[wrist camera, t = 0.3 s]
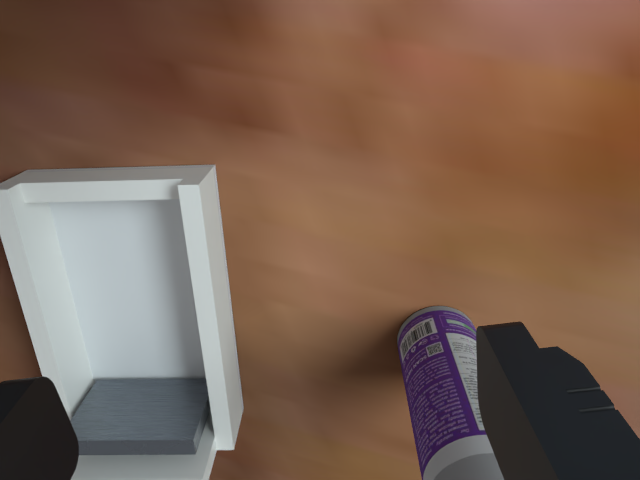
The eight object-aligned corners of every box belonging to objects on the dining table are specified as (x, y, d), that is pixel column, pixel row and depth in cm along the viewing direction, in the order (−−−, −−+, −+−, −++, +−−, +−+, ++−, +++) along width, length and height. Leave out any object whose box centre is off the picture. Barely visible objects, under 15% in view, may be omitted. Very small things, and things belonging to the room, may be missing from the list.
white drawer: (27, 169, 28) (-58, 212, 22) (215, 164, 27) (181, 206, 21) (90, 409, 34) (37, 493, 28) (243, 408, 34) (223, 493, 28)
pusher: (97, 379, 32) (56, 440, 27) (213, 378, 32) (193, 439, 27) (100, 392, 32) (61, 455, 28) (215, 391, 32) (195, 454, 27)
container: (403, 377, 32) (453, 647, 18) (390, 313, 30) (436, 558, 17) (480, 364, 32) (591, 633, 18) (471, 298, 30) (587, 539, 16)
